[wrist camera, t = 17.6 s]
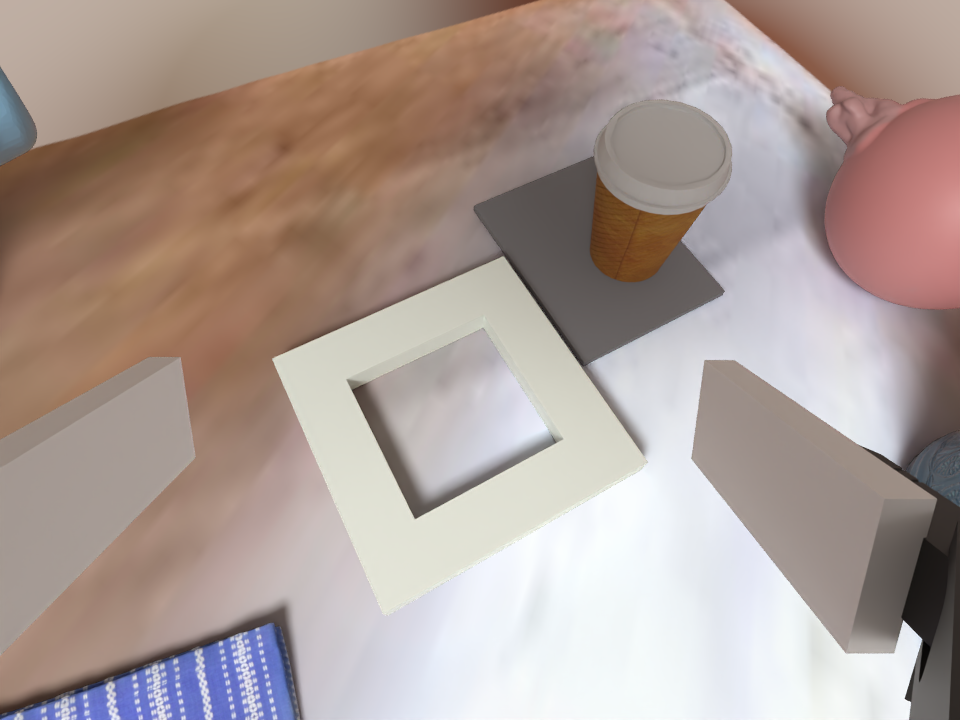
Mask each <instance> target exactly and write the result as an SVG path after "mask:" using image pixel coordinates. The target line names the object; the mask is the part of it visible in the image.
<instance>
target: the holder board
mask: <svg viewBox="0 0 960 720" xmlns="http://www.w3.org/2000/svg"><path fill="white" fill-rule="evenodd" d="M482 328H484V329H485V331H486V333H487V334H488V336H489V337H490V339H491V340H492V342H493V344H494V345H495V347H496V348H497V350H498V351H499V353H500V355H501V356H502V358H503V359H504V361H505V362H506V364H507V366H508V367H509V369H510V370H511V372H512V373H513V375H514V377H515V378H516V380H517V381H518V383H519V384H520V386H521V388H522V389H523V391H524V392H525V394H526V395H527V397H528V399H529V400H530V402H531V403H532V405H533V406H534V408H535V410H536V411H537V413H538V414H539V416H540V417H541V419H542V421H543V422H544V424H545V425H546V427H547V428H548V430H549V432H550V433H551V435H552V436H553V438H554V439H555V441H556V443H555V444H554V445H552V446H550V447H548V448H546V449H544V450H542V451H541V452H539V453H537V454H535V455H533V456H531V457H530V458H528V459H526V460H524V461H522V462H520V463H518V464H517V465H515V466H513V467H511V468H509V469H507V470H506V471H504V472H502V473H500V474H498V475H496V476H494V477H493V478H491V479H489V480H487V481H485V482H483V483H481V484H480V485H478V486H476V487H474V488H472V489H470V490H469V491H467V492H465V493H463V494H461V495H459V496H457V497H456V498H454V499H452V500H450V501H448V502H446V503H444V504H443V505H441V506H439V507H437V508H435V509H433V510H432V511H430V512H428V513H426V514H424V515H422V516H420V517H419V518H417V519H414V517H413V514H412V512H411V510H410V508H409V506H408V504H407V502H406V500H405V498H404V496H403V494H402V492H401V490H400V488H399V486H398V484H397V482H396V480H395V478H394V476H393V474H392V472H391V470H390V468H389V466H388V464H387V461H386V459H385V457H384V455H383V453H382V451H381V449H380V447H379V445H378V443H377V441H376V439H375V437H374V435H373V433H372V431H371V429H370V427H369V425H368V423H367V421H366V419H365V417H364V415H363V413H362V411H361V408H360V406H359V404H358V402H357V400H356V398H355V396H354V394H353V392H352V390H353V389H355V388H357V387H359V386H361V385H363V384H365V383H367V382H369V381H372V380H374V379H376V378H378V377H380V376H382V375H384V374H386V373H389V372H391V371H393V370H395V369H397V368H399V367H401V366H403V365H406V364H408V363H410V362H412V361H414V360H416V359H418V358H420V357H423V356H425V355H427V354H429V353H431V352H433V351H435V350H437V349H439V348H442V347H444V346H446V345H448V344H450V343H452V342H454V341H456V340H459V339H461V338H463V337H465V336H467V335H469V334H471V333H473V332H476V331H478V330H480V329H482ZM272 360H273V362H274V364H275V367H276V369H277V371H278V373H279V376H280V378H281V380H282V383H283V385H284V387H285V390H286V392H287V394H288V397H289V399H290V401H291V403H292V406H293V408H294V410H295V413H296V415H297V417H298V420H299V422H300V424H301V426H302V429H303V431H304V433H305V436H306V438H307V440H308V443H309V445H310V447H311V449H312V452H313V454H314V456H315V459H316V461H317V463H318V466H319V468H320V470H321V472H322V475H323V477H324V479H325V482H326V484H327V486H328V489H329V491H330V493H331V495H332V498H333V500H334V502H335V505H336V507H337V509H338V512H339V514H340V516H341V518H342V521H343V523H344V525H345V528H346V530H347V532H348V535H349V537H350V539H351V541H352V544H353V546H354V548H355V551H356V553H357V555H358V558H359V560H360V562H361V565H362V567H363V569H364V571H365V574H366V576H367V578H368V581H369V583H370V585H371V588H372V590H373V592H374V594H375V597H376V599H377V601H378V604H379V606H380V608H381V611H382V613H383V614H384V615H386V616H388V615H390V614H392V613H394V612H395V611H397V610H399V609H401V608H402V607H404V606H406V605H408V604H409V603H411V602H413V601H414V600H416V599H418V598H420V597H421V596H423V595H425V594H427V593H428V592H430V591H432V590H434V589H435V588H437V587H439V586H440V585H442V584H444V583H446V582H447V581H449V580H451V579H453V578H454V577H456V576H458V575H460V574H461V573H463V572H465V571H467V570H468V569H470V568H472V567H473V566H475V565H477V564H479V563H480V562H482V561H484V560H486V559H487V558H489V557H491V556H493V555H494V554H496V553H498V552H500V551H501V550H503V549H505V548H506V547H508V546H510V545H512V544H513V543H515V542H517V541H519V540H520V539H522V538H524V537H526V536H527V535H529V534H531V533H533V532H534V531H536V530H538V529H539V528H541V527H543V526H545V525H546V524H548V523H550V522H552V521H553V520H555V519H557V518H559V517H560V516H562V515H564V514H565V513H567V512H569V511H571V510H572V509H574V508H576V507H578V506H579V505H581V504H583V503H585V502H586V501H588V500H590V499H592V498H593V497H595V496H597V495H598V494H600V493H602V492H604V491H605V490H607V489H609V488H611V487H612V486H614V485H616V484H618V483H619V482H621V481H623V480H625V479H626V478H628V477H630V476H631V475H633V474H635V473H637V472H638V471H640V470H641V469H642V468H643V467H644V466H645V465H646V464H647V463H648V462H647V460H646V459H645V457H644V456H643V454H642V453H641V452H640V450H639V449H638V447H637V446H636V444H635V443H634V442H633V440H632V439H631V437H630V436H629V434H628V433H627V432H626V430H625V429H624V427H623V426H622V424H621V423H620V422H619V420H618V419H617V417H616V416H615V414H614V413H613V412H612V410H611V409H610V407H609V406H608V404H607V403H606V402H605V400H604V399H603V397H602V396H601V394H600V393H599V392H598V390H597V389H596V387H595V386H594V384H593V383H592V382H591V380H590V379H589V377H588V376H587V374H586V373H585V372H584V370H583V369H582V367H581V366H580V364H579V363H578V362H577V360H576V359H575V357H574V356H573V354H572V353H571V352H570V350H569V349H568V347H567V346H566V344H565V343H564V342H563V340H562V339H561V337H560V336H559V334H558V333H557V332H556V330H555V329H554V327H553V326H552V324H551V323H550V322H549V320H548V319H547V317H546V316H545V314H544V313H543V312H542V310H541V309H540V307H539V306H538V304H537V303H536V301H535V300H534V299H533V297H532V296H531V294H530V293H529V291H528V290H527V289H526V287H525V286H524V284H523V283H522V281H521V280H520V279H519V277H518V276H517V274H516V273H515V271H514V270H513V269H512V267H511V266H510V264H509V263H508V261H507V260H506V259H505V257H504V256H503V257H500V258H498V259H496V260H494V261H491V262H489V263H487V264H485V265H482V266H480V267H478V268H476V269H473V270H471V271H469V272H466V273H464V274H462V275H460V276H457V277H455V278H453V279H451V280H448V281H446V282H444V283H442V284H439V285H437V286H435V287H433V288H430V289H428V290H426V291H424V292H421V293H419V294H417V295H415V296H412V297H410V298H408V299H406V300H403V301H401V302H399V303H397V304H394V305H392V306H390V307H388V308H385V309H383V310H381V311H378V312H376V313H374V314H372V315H369V316H367V317H365V318H363V319H360V320H358V321H356V322H354V323H351V324H349V325H347V326H345V327H342V328H340V329H338V330H336V331H333V332H331V333H329V334H327V335H324V336H322V337H320V338H318V339H315V340H313V341H311V342H309V343H306V344H304V345H302V346H300V347H297V348H295V349H293V350H290V351H288V352H286V353H284V354H281V355H279V356H277V357H275V358H272Z"/></svg>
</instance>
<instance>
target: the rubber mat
mask: <svg viewBox="0 0 960 720" xmlns="http://www.w3.org/2000/svg"><path fill="white" fill-rule="evenodd" d="M596 178H597V167H596V165H595V160H594V156H593V157H591V158H588V159H586V160H584V161H581V162H579V163H576V164H574V165H571V166H569V167H567V168H564V169H562V170H559V171H557V172H555V173H552V174H550V175H547V176H545V177H543V178H540V179H538V180H535V181H533V182H530V183H528V184H526V185H523V186H521V187H518V188H516V189H514V190H511V191H509V192H506V193H504V194H502V195H499V196H497V197H494V198H492V199H490V200H487V201H485V202H482V203H480V204H477V205H475V206H474V211H475V213H476V214H477V216H478V217H479V219H480V220H481V221H482V223H483V224H484V226H485V227H486V229H487V230H488V231H489V233H490V234H491V236H492V237H493V239H494V240H495V241H496V243H497V244H498V246H499V247H500V248H501V250H502V251H503V253H504V254H505V256H506V257H507V258H508V260H509V261H510V263H511V264H512V266H513V267H514V268H515V270H516V271H517V273H518V274H519V276H520V277H521V278H522V280H523V281H524V283H525V284H526V286H527V287H528V288H529V290H530V291H531V293H532V294H533V296H534V297H535V298H536V300H537V301H538V303H539V304H540V306H541V307H542V308H543V310H544V311H545V313H546V314H547V315H548V317H549V318H550V320H551V321H552V323H553V324H554V325H555V327H556V328H557V330H558V331H559V333H560V334H561V335H562V337H563V338H564V340H565V341H566V343H567V344H568V345H569V347H570V348H571V350H572V351H573V353H574V354H575V355H576V357H577V358H578V360H579V361H580V363H581V364H582V365H583V366H585V365H587V364H588V363H590V362H592V361H594V360H596V359H598V358H600V357H602V356H604V355H606V354H608V353H610V352H612V351H614V350H616V349H618V348H620V347H622V346H624V345H626V344H628V343H630V342H632V341H633V340H635V339H637V338H639V337H641V336H643V335H645V334H647V333H649V332H651V331H653V330H655V329H657V328H659V327H661V326H663V325H665V324H667V323H669V322H671V321H673V320H675V319H676V318H678V317H680V316H682V315H684V314H686V313H688V312H690V311H692V310H694V309H696V308H698V307H700V306H702V305H704V304H706V303H708V302H710V301H712V300H714V299H716V298H718V297H719V296H721V295H723V293H724V292H725V291H724V290H723V288H722V287H721V286H720V285H719V284H718V283H717V282H716V281H715V279H714V278H713V277H712V276H711V275H710V274H709V273H708V271H707V270H706V269H705V268H704V267H703V266H702V265H701V264H700V262H699V261H698V260H697V259H696V258H695V257H694V256H693V254H692V253H691V252H690V251H689V250H688V249H687V248H686V247H685V245H684V244H683V243H682V242H681V241H679V243H678V244H677V246H676V247H675V248H674V250H673V251H672V252H671V254H670V255H669V256H668V258H667V259H666V260H665V262H664V263H663V264H662V266H661V267H660V269H659V270H658V272H657V273H656V274H655V275H653V276H652V277H650V278H648V279H646V280H643V281H640V282H622V281H618V280H615V279H612V278H610V277H608V276H606V275H605V274H604V273H602V272H601V271H600V270H599V269H598V268H597V267H596V266H595V264H594V262H593V261H592V258H591V255H590V243H591V233H592V223H593V222H592V221H593V212H594V211H593V210H594V201H595V189H596V188H595V187H596Z"/></svg>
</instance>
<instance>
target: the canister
mask: <svg viewBox="0 0 960 720" xmlns="http://www.w3.org/2000/svg"><path fill="white" fill-rule="evenodd" d="M906 471H907V472H908V473H910V474H911V475H913V476H914V477H916V478H917V479H919V482H923V483H924V484H926V485H927V486H929V487H930V488H932V489H933V490H935V491H936V492H938V493H939V494H941V495H942V496H944V497H945V498H947V499H948V500H950V501H951V502H953V503H954V504H956V505H957V506H959V507H960V430H958V431H955V432H952V433H950V434H948V435H945V436H944V437H941V438H939V439H937V440H936V441H934V442H932V443H931V444H930V445H928V446H927V447H926V448H925V449H924V450H923V451H922V452H921V453H920V454H918V455H917V456H916V457H915V458H914V459H913V460H912V462H911V463H910V464H909V466H908V467H907V469H906Z"/></svg>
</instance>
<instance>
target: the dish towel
mask: <svg viewBox="0 0 960 720" xmlns="http://www.w3.org/2000/svg"><path fill="white" fill-rule="evenodd" d="M0 720H300V713H299V710H298V704H297V698H296V693H295V688H294V682H293V677H292V672H291V665H290V661H289V658H288V653H287V649H286V644H285V642H284V637H283V634H282V629H281V627H280V626H278V627H275V625H274V623H268V624H265V625H263V626H261V627H257V628H255V629H253V630H249V631H246V632H243V633H238V634H235V635H233V636H231V637H228V638H225V639H223V640H218V641H215V642H212V643H209V644H206V645H204V646H201V647H200V646H197V647H195V648H193V649H191V650H189V651H186V652H183V653H181V654H178V655H172V656H170V657H168V658H165V659H161V660H157V661H154V662H152V663H149V664H146V665H144V666H142V667H139V668H135V669H133V670H130V671H128V672H126V673H123V674H120V675H117V676H113V677H110V678H107V679H105V680H103V681H100V682H97V683H94V684H91V685H87V686H85V687H82V688H80V689H76V690H73V691H69V692H66V693H63V694H61V695H59V696H56V697H55V698H52V699H49V700H46V701H42V702H39V703H36V704H32V705H29V706H26V707H24V708H20V709H17V710H14V711H11V712H7V713H3V714H1V715H0Z"/></svg>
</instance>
